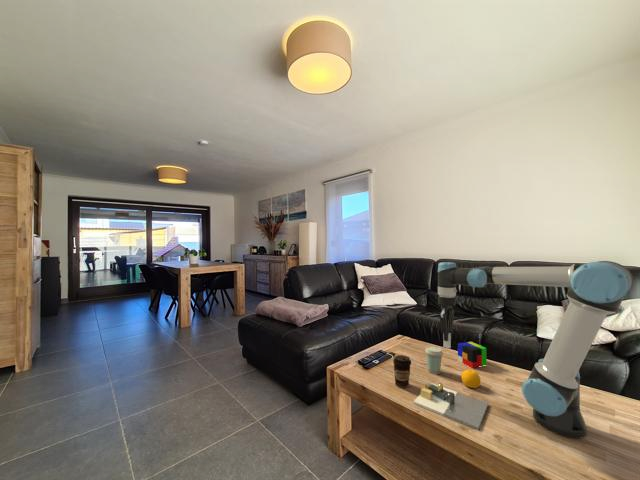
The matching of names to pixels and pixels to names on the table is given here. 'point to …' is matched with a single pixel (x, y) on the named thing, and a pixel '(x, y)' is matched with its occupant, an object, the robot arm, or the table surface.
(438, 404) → the door board
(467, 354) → the puzzle toy
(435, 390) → the swing bar
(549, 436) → the table surface
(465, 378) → the orange
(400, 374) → the coffee cup
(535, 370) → the robot arm
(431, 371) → the coffee cup
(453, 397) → the pivot post
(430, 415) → the table surface
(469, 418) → the plate
